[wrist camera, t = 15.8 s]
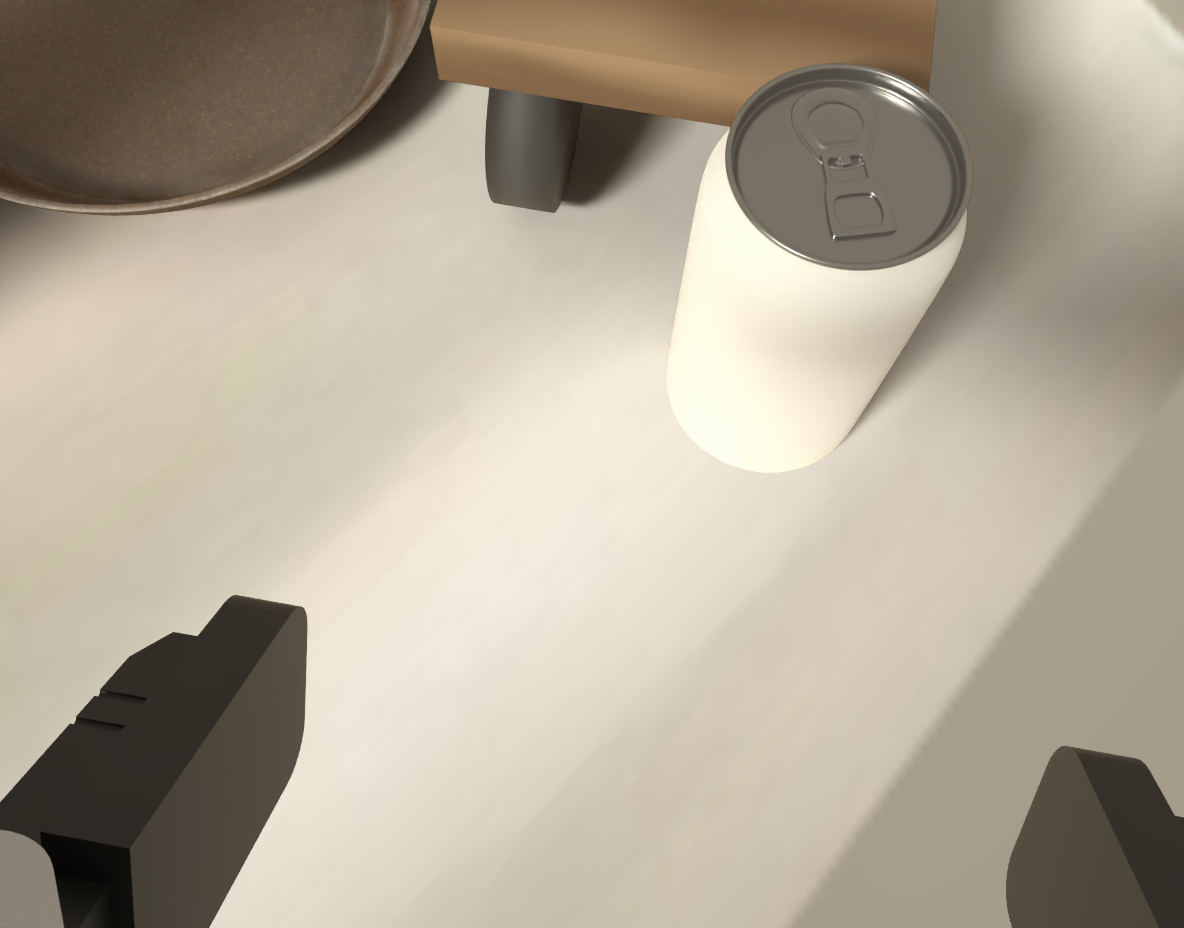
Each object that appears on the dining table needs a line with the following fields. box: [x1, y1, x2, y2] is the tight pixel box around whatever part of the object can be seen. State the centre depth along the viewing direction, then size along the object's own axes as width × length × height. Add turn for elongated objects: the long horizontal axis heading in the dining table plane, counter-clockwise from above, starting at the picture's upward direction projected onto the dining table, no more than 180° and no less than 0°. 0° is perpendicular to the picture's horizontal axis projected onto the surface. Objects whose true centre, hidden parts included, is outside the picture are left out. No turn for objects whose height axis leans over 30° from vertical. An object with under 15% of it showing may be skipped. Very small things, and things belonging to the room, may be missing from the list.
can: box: [667, 63, 973, 472], centre depth 30 cm, size 6×6×12 cm
